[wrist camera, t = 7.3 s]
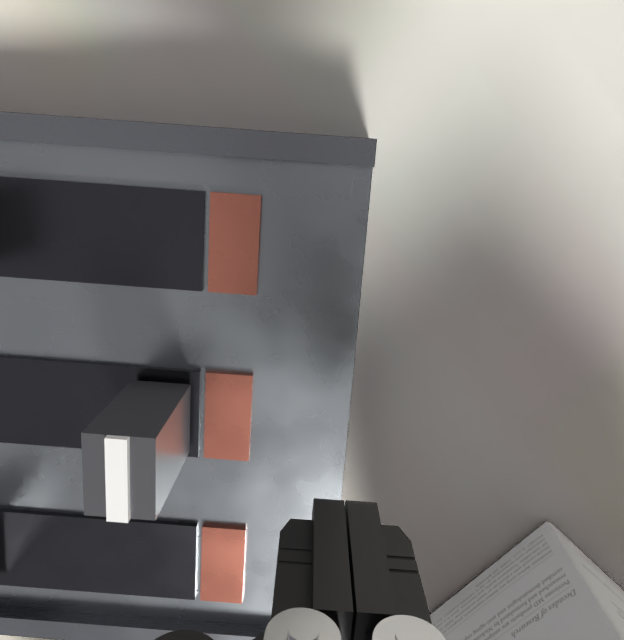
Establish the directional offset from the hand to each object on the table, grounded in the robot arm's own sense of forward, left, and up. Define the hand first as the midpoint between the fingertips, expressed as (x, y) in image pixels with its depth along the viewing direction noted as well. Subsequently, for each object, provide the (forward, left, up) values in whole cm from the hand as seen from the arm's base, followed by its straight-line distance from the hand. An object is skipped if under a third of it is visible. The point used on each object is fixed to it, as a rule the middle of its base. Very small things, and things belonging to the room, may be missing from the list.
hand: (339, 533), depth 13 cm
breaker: (+6, 0, -6) cm, 8 cm away
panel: (+10, 0, -9) cm, 13 cm away
